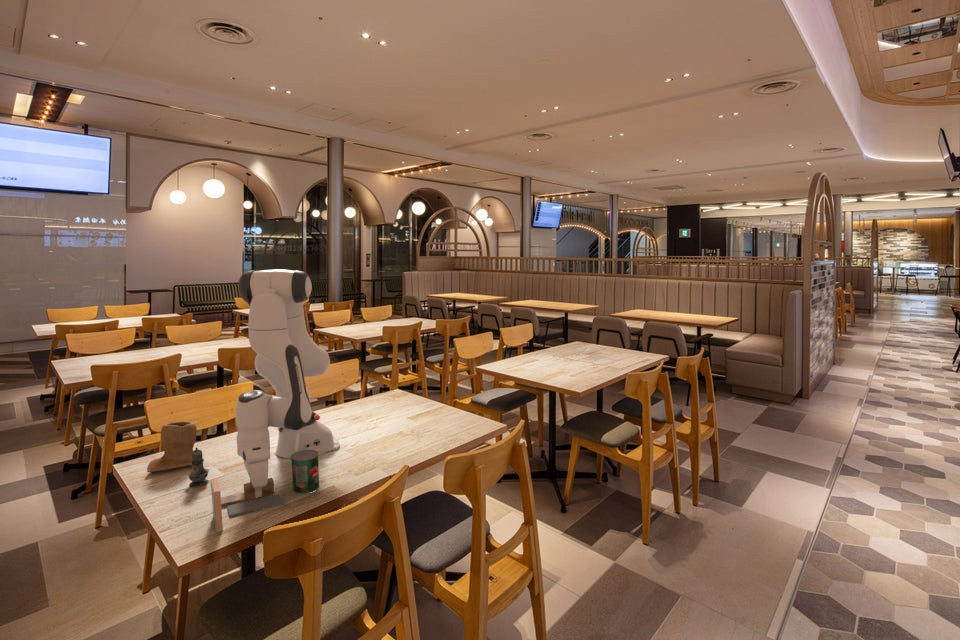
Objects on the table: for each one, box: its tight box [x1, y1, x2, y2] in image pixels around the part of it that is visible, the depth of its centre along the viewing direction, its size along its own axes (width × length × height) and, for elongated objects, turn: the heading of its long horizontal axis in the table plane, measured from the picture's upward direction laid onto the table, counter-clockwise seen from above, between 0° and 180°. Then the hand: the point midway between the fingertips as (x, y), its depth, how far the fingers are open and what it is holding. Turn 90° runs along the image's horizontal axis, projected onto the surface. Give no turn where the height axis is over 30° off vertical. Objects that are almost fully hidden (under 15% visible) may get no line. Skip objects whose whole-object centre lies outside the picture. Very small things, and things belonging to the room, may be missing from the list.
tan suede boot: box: [146, 421, 198, 473], centre depth 166 cm, size 15×12×15 cm
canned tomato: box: [290, 450, 320, 495], centre depth 151 cm, size 8×8×11 cm
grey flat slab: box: [226, 493, 284, 518], centre depth 141 cm, size 14×6×1 cm, turn 123°
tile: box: [210, 477, 224, 532], centre depth 131 cm, size 2×9×11 cm, turn 33°
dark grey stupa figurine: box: [187, 447, 210, 488], centre depth 153 cm, size 6×6×12 cm
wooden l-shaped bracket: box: [221, 477, 275, 508], centre depth 145 cm, size 15×4×4 cm, turn 123°
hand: (255, 490), depth 146 cm, fingers open, 7 cm apart
